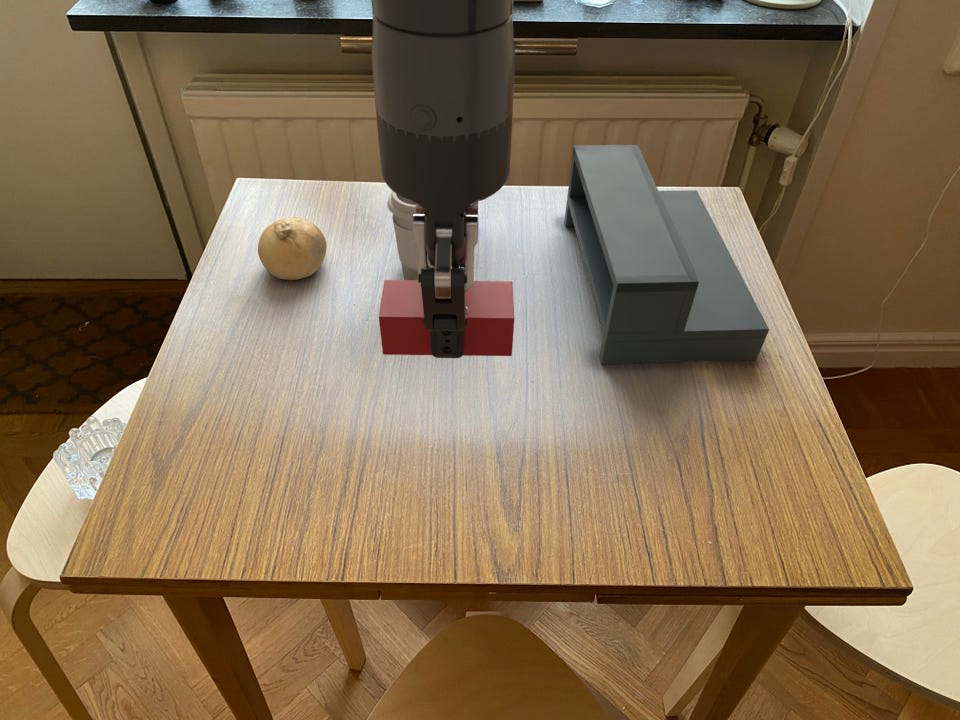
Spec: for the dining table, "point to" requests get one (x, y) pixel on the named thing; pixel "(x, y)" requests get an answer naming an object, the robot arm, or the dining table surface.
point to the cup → (405, 234)
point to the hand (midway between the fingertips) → (448, 331)
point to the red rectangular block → (484, 316)
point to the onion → (292, 248)
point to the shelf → (656, 266)
